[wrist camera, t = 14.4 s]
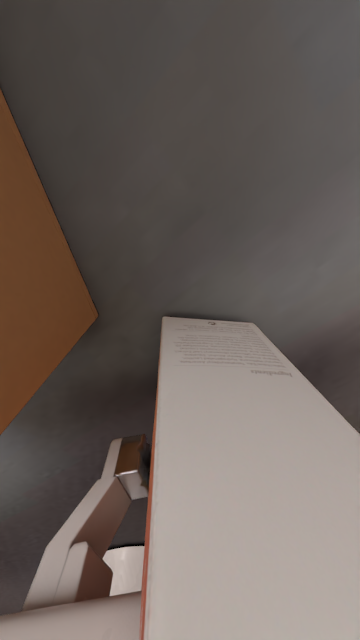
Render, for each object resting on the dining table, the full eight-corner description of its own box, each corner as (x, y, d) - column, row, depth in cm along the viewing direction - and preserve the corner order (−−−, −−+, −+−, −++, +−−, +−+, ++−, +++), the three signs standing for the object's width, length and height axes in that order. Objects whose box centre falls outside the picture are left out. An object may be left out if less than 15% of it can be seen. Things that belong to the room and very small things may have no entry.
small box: (161, 313, 11) (126, 755, 2) (254, 320, 12) (632, 691, 2) (154, 414, 14) (127, 773, 5) (228, 416, 15) (337, 744, 5)
